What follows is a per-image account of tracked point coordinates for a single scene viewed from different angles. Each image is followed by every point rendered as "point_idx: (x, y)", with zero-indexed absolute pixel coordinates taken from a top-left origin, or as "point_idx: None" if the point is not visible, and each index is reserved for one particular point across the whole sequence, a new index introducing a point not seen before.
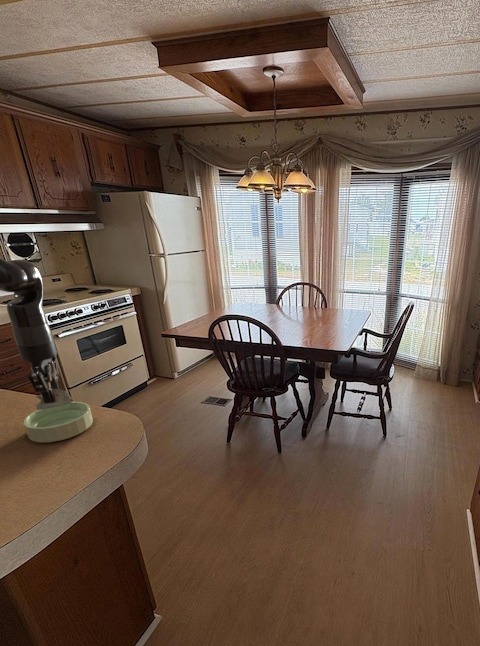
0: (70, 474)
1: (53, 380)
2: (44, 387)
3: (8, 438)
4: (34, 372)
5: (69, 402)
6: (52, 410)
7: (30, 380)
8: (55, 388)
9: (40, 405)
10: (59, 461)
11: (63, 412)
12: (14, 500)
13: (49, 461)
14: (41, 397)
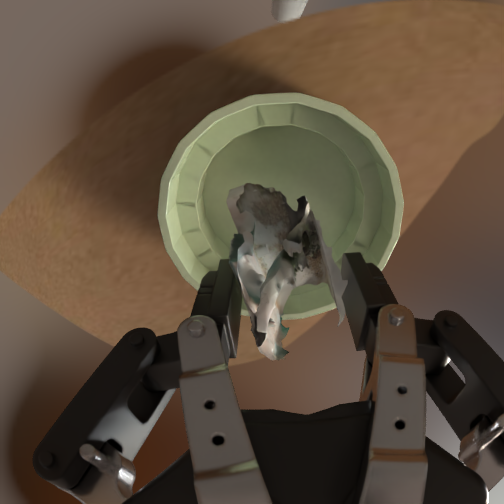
0: (67, 282)
1: (368, 354)
2: (131, 398)
3: (253, 35)
4: (80, 499)
5: (277, 313)
6: (377, 162)
7: (54, 426)
8: (350, 307)
9: (234, 219)
10: (99, 249)
11: (362, 199)
12: (9, 217)
13: (98, 227)
14: (231, 264)
